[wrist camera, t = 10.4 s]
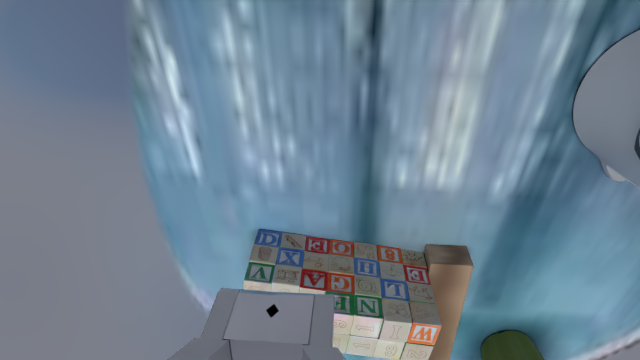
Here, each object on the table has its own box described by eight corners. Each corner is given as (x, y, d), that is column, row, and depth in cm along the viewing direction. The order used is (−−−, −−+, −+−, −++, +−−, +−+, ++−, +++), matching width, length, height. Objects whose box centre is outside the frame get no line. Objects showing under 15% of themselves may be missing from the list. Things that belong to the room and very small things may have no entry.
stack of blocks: (255, 264, 58) (234, 340, 47) (258, 227, 54) (236, 299, 44) (412, 286, 58) (427, 366, 47) (424, 251, 55) (443, 328, 44)
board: (465, 244, 54) (473, 265, 51) (440, 349, 64) (445, 373, 61) (425, 242, 54) (430, 263, 51) (406, 347, 65) (410, 371, 61)
